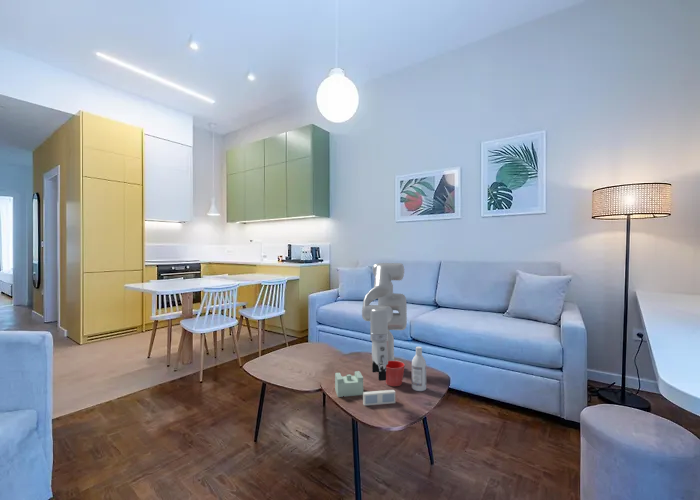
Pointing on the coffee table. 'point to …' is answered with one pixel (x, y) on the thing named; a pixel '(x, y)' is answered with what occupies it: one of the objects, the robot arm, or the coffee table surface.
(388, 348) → the robot arm
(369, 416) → the coffee table surface
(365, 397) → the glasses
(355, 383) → the notched toy brick
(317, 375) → the coffee table surface
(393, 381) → the flower pot
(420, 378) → the bath foam
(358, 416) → the coffee table surface
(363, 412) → the coffee table surface
